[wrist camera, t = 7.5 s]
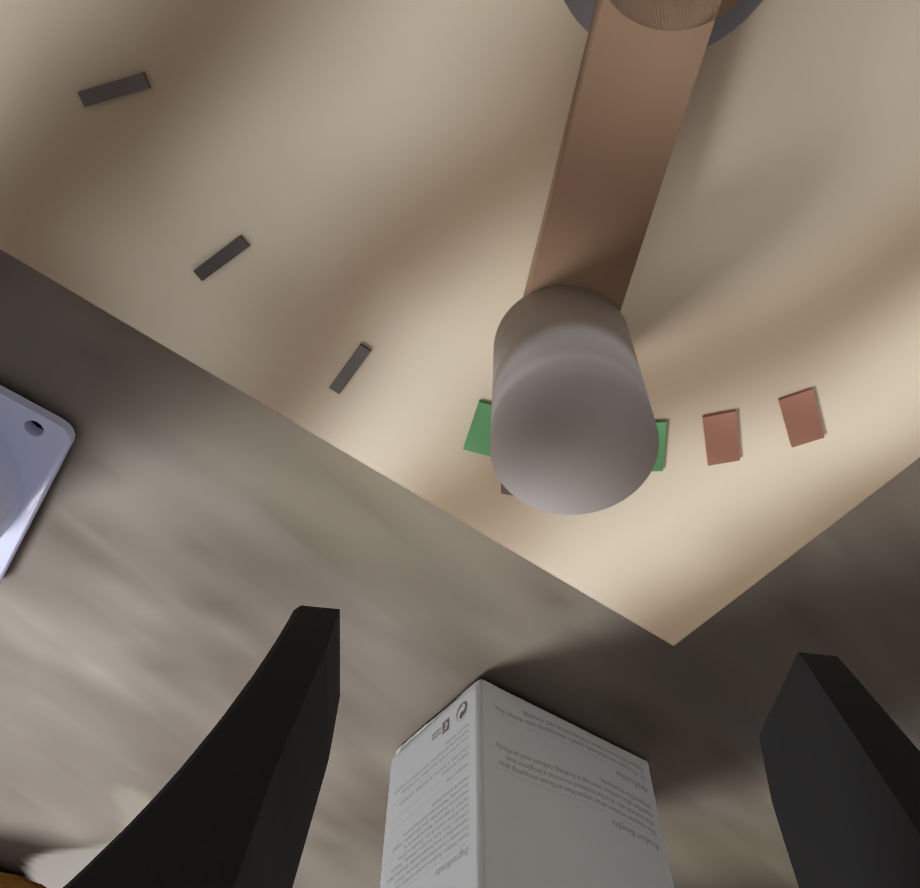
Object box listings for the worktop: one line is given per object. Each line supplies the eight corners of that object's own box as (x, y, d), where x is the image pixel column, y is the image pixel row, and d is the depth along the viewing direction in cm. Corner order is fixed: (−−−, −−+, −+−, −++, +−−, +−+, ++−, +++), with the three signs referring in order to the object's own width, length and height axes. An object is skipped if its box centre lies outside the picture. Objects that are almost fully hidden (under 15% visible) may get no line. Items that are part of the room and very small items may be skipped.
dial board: (-181, 108, 18) (-226, 119, 17) (219, -1715, 8) (173, -1981, 7) (667, 617, 25) (674, 648, 24) (1429, 10, 15) (1500, 16, 14)
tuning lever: (612, -215, 13) (661, -282, 9) (799, -171, 13) (935, -217, 9) (456, 471, 21) (442, 609, 16) (574, 493, 21) (591, 635, 17)
